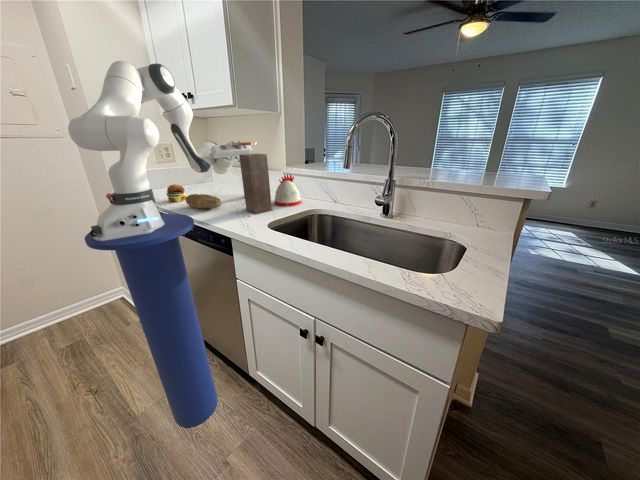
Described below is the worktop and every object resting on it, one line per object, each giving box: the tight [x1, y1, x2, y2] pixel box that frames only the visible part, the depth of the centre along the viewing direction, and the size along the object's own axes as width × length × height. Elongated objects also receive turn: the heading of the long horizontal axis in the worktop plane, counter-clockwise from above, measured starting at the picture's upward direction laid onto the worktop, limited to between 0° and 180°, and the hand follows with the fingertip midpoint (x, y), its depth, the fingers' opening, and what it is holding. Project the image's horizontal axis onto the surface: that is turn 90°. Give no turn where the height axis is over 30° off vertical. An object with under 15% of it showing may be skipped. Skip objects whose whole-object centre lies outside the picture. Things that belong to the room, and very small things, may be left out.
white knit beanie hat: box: [274, 173, 302, 207], centre depth 137 cm, size 14×14×15 cm
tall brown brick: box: [239, 152, 273, 215], centre depth 122 cm, size 9×9×26 cm
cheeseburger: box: [165, 184, 188, 203], centre depth 148 cm, size 10×11×10 cm
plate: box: [233, 141, 257, 146], centre depth 122 cm, size 8×19×1 cm, turn 42°
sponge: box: [185, 193, 222, 210], centre depth 132 cm, size 13×8×20 cm
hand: (236, 142), depth 126 cm, fingers closed on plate, 3 cm apart
